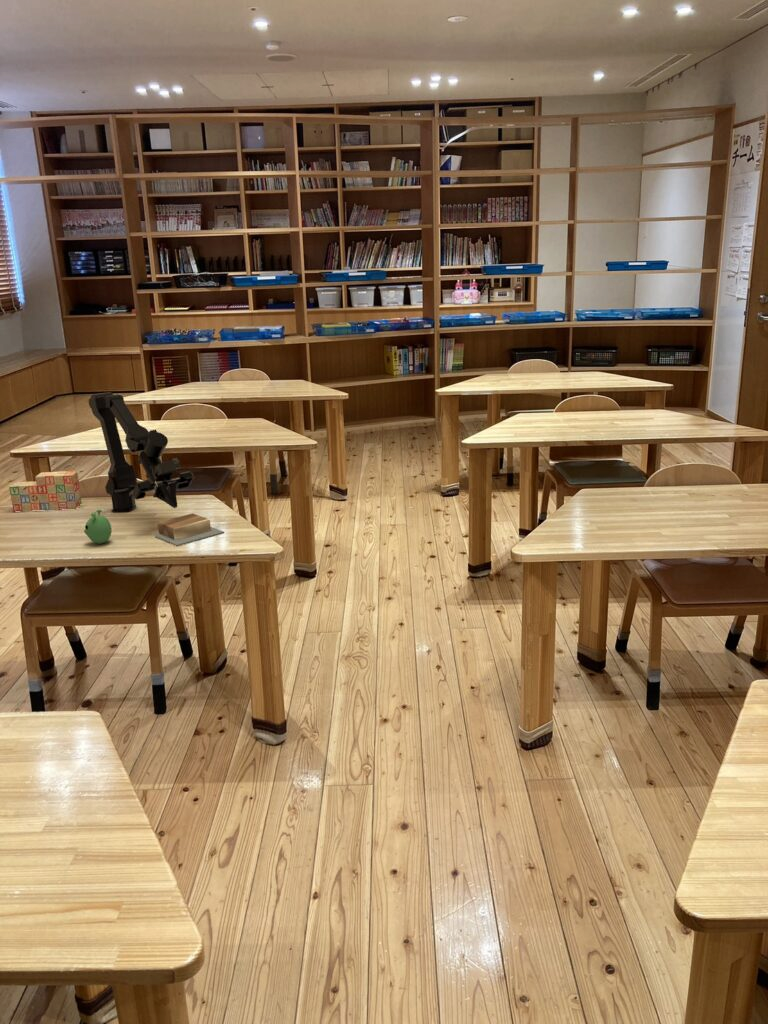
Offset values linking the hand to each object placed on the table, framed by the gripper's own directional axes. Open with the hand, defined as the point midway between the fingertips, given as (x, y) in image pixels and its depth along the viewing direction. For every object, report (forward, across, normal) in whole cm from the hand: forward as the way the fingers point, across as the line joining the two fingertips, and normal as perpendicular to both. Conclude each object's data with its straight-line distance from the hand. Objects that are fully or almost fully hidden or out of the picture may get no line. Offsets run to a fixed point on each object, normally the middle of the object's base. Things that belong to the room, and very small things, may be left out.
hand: (175, 507), depth 245 cm
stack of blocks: (-36, -17, +47) cm, 61 cm away
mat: (+10, 0, +1) cm, 10 cm away
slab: (+3, 0, +4) cm, 5 cm away
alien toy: (0, -22, +11) cm, 24 cm away
